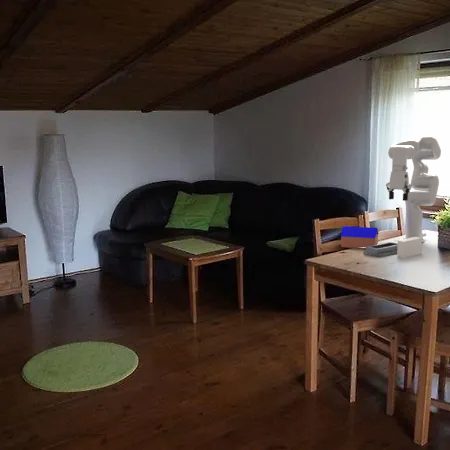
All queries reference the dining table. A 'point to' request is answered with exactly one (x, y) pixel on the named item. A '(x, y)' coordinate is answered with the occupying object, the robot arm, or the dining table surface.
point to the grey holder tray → (382, 249)
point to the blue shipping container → (358, 237)
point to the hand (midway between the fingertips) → (398, 199)
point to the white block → (409, 247)
